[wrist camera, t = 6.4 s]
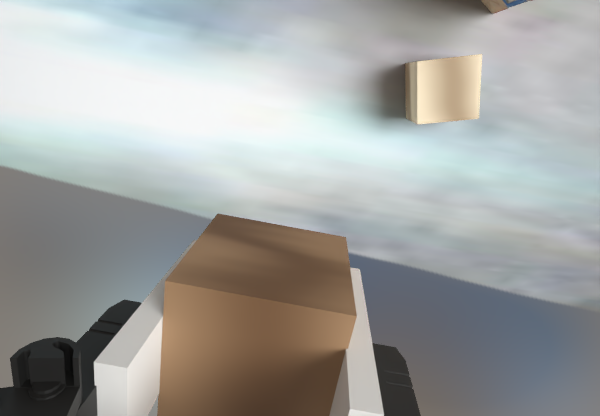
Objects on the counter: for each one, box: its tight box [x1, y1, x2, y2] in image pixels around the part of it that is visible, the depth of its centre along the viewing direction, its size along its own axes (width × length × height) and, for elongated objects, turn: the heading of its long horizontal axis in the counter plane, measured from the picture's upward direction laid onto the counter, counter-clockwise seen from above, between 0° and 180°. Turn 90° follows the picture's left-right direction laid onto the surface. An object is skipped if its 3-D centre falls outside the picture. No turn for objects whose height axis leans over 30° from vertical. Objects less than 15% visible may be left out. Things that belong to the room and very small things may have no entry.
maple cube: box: [405, 54, 482, 124], centre depth 33 cm, size 5×5×5 cm
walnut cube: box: [157, 214, 357, 416], centre depth 13 cm, size 5×5×5 cm
